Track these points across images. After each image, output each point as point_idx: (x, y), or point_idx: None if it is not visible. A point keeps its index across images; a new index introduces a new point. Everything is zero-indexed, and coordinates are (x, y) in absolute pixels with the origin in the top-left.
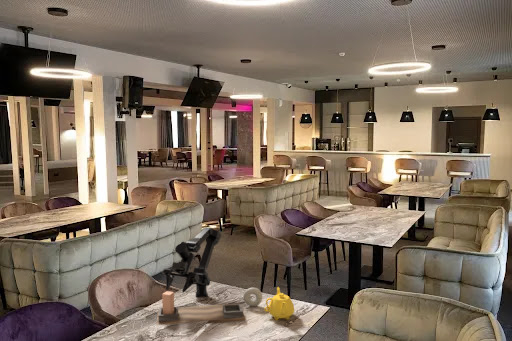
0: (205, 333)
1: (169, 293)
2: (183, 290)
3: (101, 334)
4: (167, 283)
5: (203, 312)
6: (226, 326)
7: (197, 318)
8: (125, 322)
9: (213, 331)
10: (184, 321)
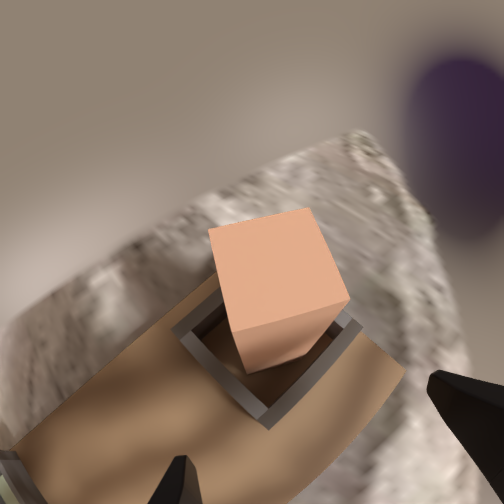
0: (34, 327)
1: (249, 262)
2: (169, 468)
3: (360, 136)
4: (492, 394)
5: (127, 494)
6: (4, 413)
7: (103, 415)
8: (398, 211)
9: (18, 356)
10: (140, 349)
